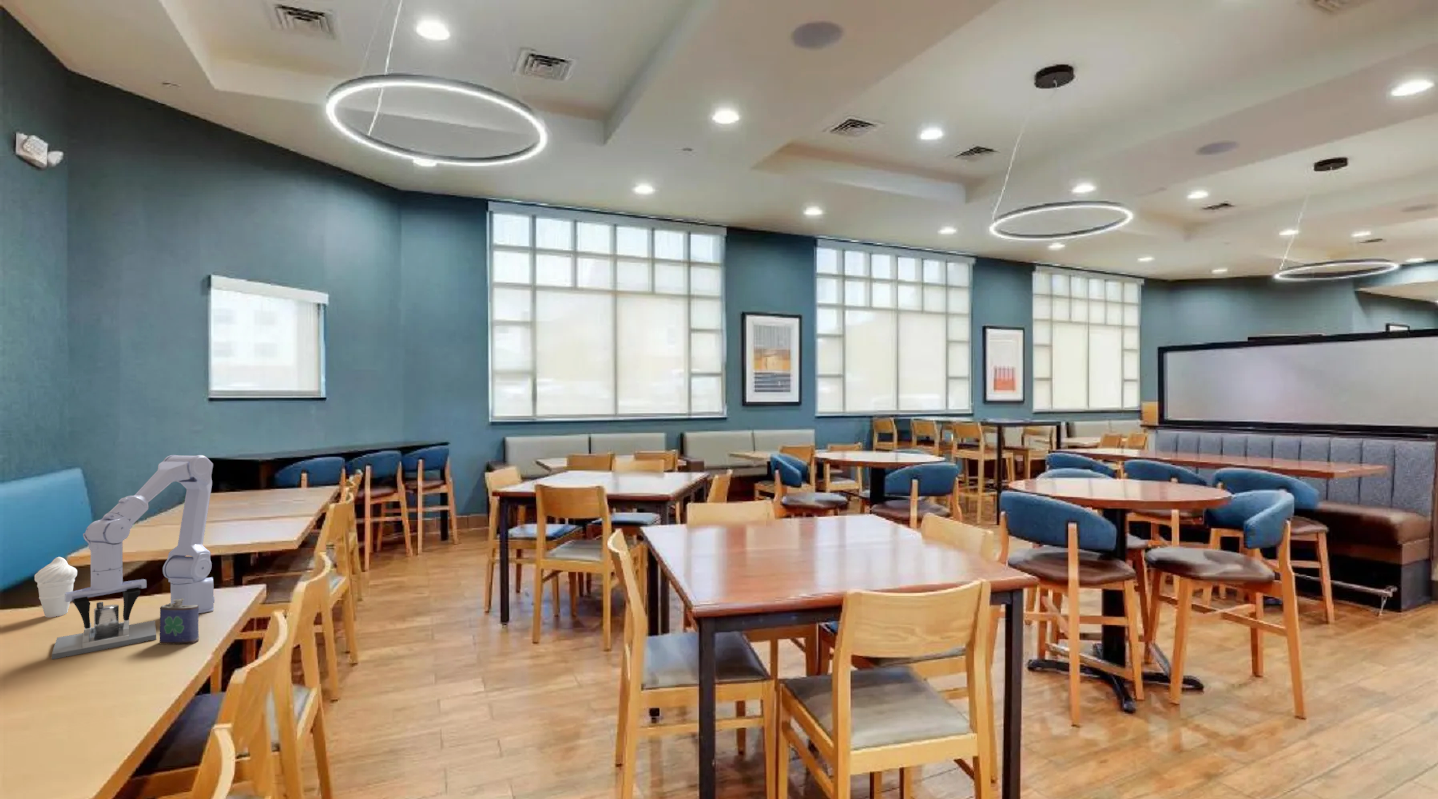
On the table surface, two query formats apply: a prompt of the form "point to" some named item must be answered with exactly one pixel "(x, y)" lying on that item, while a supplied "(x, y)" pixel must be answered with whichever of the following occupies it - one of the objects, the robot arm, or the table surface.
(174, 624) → the flask
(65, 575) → the soft serve ice cream cone
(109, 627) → the spout can
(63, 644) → the grey framed base plate
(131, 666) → the table surface
